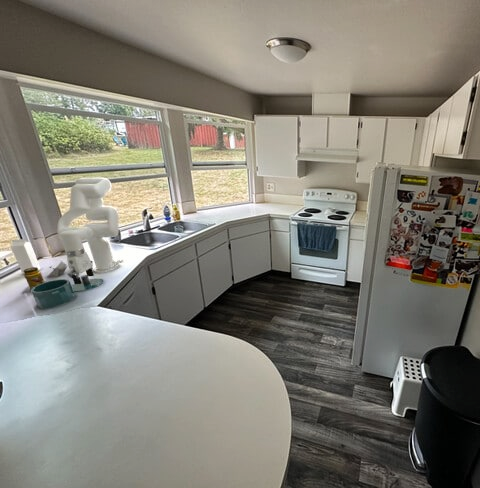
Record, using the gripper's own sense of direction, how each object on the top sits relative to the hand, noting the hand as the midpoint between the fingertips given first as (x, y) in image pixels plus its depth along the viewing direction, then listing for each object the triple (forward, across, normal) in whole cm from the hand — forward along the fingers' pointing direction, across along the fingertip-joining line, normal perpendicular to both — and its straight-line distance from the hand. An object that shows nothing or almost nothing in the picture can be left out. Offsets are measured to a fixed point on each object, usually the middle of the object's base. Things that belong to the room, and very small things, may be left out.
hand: (84, 279), depth 144 cm
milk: (+4, +25, +47) cm, 53 cm away
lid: (+4, +1, 0) cm, 4 cm away
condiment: (+4, +1, +26) cm, 27 cm away
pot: (+5, -15, +4) cm, 16 cm away
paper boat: (+4, +20, +28) cm, 35 cm away
